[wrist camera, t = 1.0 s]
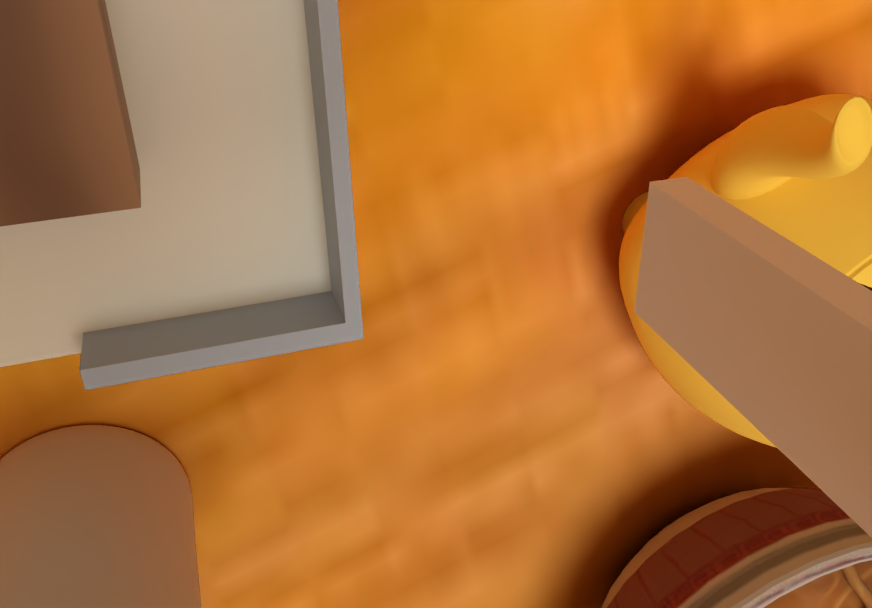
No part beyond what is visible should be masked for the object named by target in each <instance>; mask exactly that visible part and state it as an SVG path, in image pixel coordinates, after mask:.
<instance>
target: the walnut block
mask: <svg viewBox="0 0 872 608" xmlns="http://www.w3.org/2000/svg"><path fill="white" fill-rule="evenodd" d="M135 208H141V188H140V166H139V162H138V157H137V152H136V147H135V142H134V138H133V133H132V128H131V123H130V118H129V113H128V109H127V104H126V99H125V94H124V89H123V85H122V80H121V75H120V70H119V65H118V61H117V56H116V51H115V46H114V41H113V36H112V32H111V27H110V22H109V17H108V12H107V8H106V3H105V0H0V227H1V226H8V225H16V224H23V223H31V222H38V221H46V220H53V219H60V218H68V217H75V216H83V215H90V214H98V213H105V212H113V211H120V210H128V209H135Z"/></svg>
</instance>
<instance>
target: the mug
mask: <svg viewBox="0 0 872 608" xmlns="http://www.w3.org/2000/svg"><path fill="white" fill-rule="evenodd" d="M0 608H201V599H200V588H199V577H198V566H197V555H196V544H195V530H194V510H193V499H192V492H191V487H190V483H189V480H188V477H187V475H186V473H185V471H184V469H183V468H182V466H181V464H180V463H179V461H178V460H177V459H176V458H175V456H174V455H173V454H172V453H171V452H170V451H169V450H168V449H166V448H165V447H164V446H162V445H161V444H160V443H158V442H157V441H155V440H153V439H151V438H149V437H147V436H145V435H143V434H140V433H138V432H135V431H132V430H128V429H124V428H120V427H114V426H107V425H78V426H71V427H65V428H60V429H57V430H53V431H49V432H46V433H43V434H41V435H38V436H36V437H33V438H31V439H29V440H27V441H25V442H23V443H22V444H20V445H18V446H17V447H15V448H14V449H12V450H11V451H10V452H8V453H7V454H6V455H5V456H4V457H3V458H1V459H0Z"/></svg>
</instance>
